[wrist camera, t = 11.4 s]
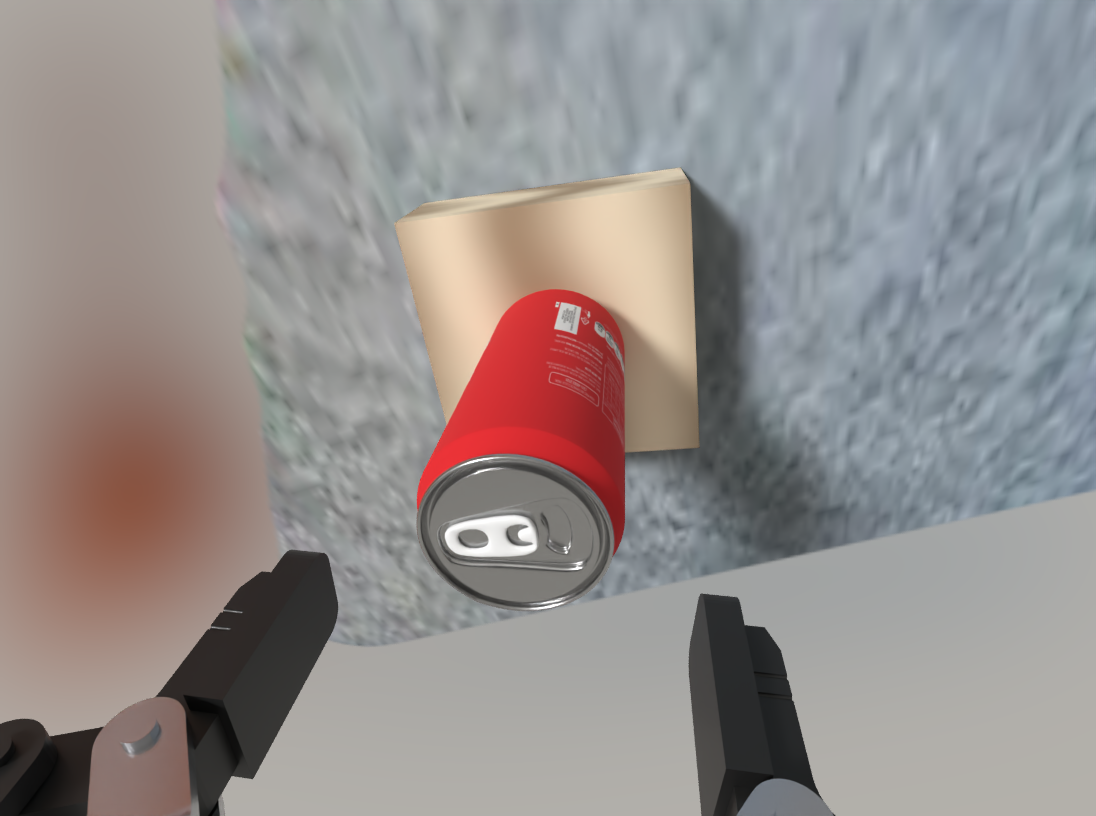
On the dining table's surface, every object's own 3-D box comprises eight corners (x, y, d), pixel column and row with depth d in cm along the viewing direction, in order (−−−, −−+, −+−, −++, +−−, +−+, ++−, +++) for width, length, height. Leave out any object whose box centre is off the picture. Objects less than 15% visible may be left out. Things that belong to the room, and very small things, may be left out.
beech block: (680, 167, 25) (690, 183, 21) (690, 403, 30) (699, 447, 26) (424, 203, 27) (394, 223, 23) (475, 420, 32) (456, 463, 28)
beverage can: (632, 391, 25) (637, 613, 15) (512, 405, 26) (439, 623, 16) (615, 270, 23) (607, 435, 13) (484, 290, 24) (376, 459, 14)
